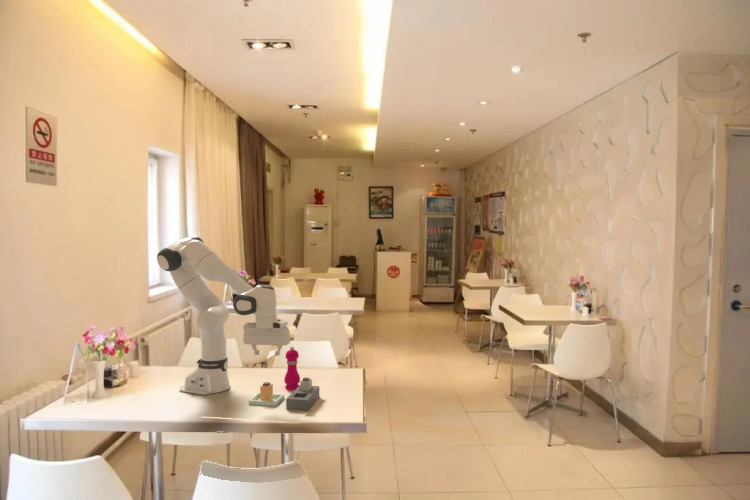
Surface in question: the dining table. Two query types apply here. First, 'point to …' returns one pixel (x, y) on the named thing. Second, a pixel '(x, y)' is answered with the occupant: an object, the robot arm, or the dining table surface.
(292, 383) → the pepper mill
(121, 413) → the dining table surface
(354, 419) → the dining table surface
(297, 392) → the socket strip
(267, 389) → the plug
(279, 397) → the tray
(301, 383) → the twin plug
